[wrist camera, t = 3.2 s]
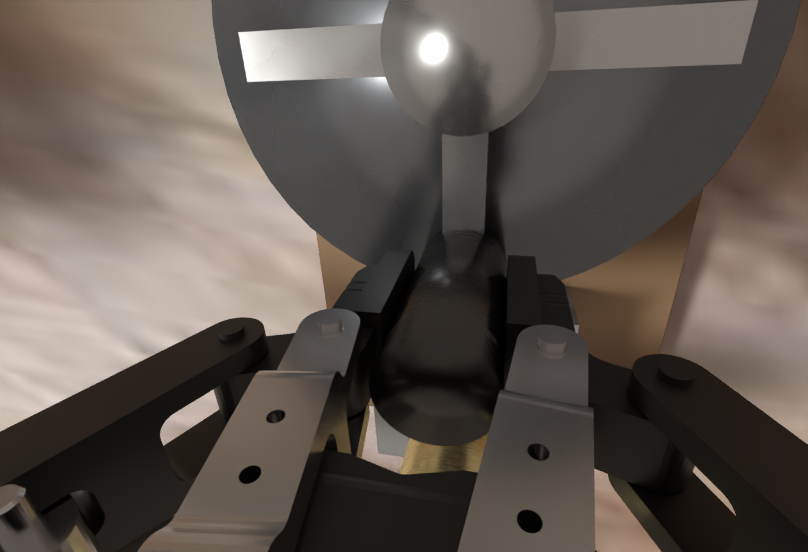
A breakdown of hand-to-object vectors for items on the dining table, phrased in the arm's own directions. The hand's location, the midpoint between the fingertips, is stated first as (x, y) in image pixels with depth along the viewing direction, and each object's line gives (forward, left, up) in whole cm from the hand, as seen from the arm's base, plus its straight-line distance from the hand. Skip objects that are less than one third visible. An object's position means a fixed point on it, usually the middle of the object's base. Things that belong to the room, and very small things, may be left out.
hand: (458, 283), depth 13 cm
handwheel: (-6, 0, -3) cm, 7 cm away
